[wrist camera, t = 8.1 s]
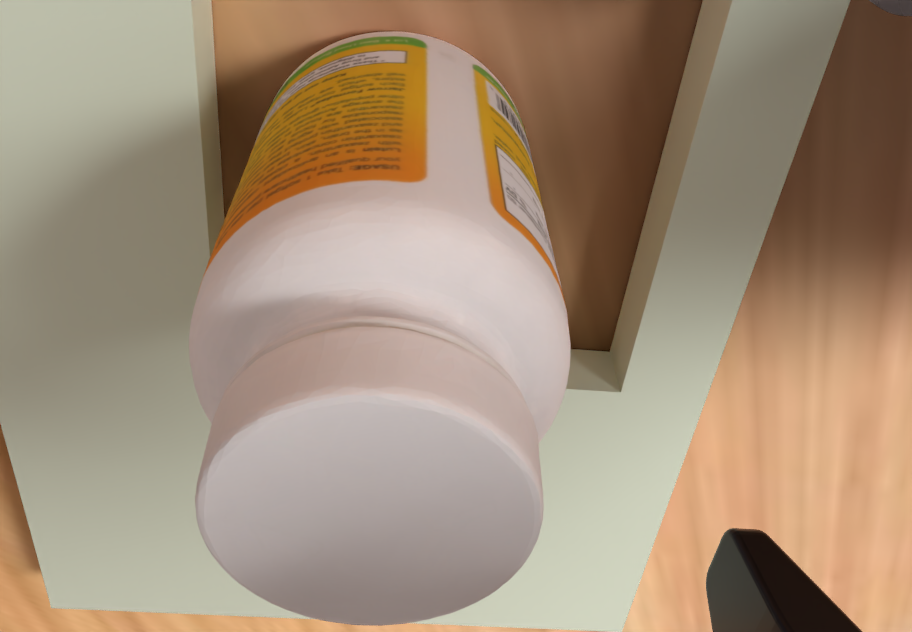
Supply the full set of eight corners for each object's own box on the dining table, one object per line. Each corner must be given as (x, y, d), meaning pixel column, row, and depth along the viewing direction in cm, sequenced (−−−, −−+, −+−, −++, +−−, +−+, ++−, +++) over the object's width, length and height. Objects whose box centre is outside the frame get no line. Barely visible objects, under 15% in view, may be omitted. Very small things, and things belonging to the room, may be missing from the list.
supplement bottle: (229, 213, 18) (79, 603, 10) (316, -26, 16) (200, 259, 8) (458, 299, 20) (478, 699, 12) (575, 94, 17) (702, 439, 9)
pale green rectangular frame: (819, -28, 16) (852, -6, 14) (612, 588, 26) (621, 632, 25) (-98, -127, 14) (-147, -110, 13) (69, 563, 25) (51, 607, 24)
